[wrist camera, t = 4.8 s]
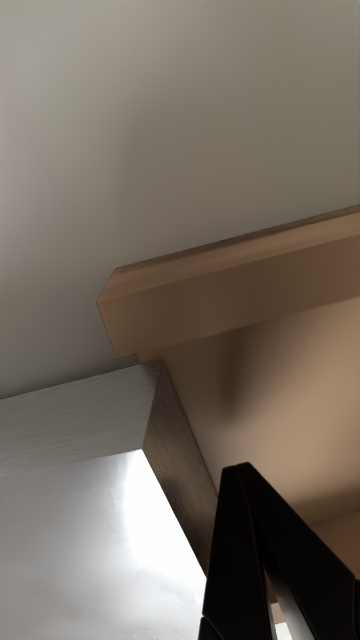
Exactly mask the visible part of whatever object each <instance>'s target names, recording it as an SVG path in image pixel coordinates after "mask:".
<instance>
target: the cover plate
mask: <svg viewBox="0 0 360 640" xmlns="http://www.w3.org/2000/svg"><path fill="white" fill-rule="evenodd" d="M217 500H218V497H217V494H216V492H215V489H214V487H213V484H212V482H211V479H210V477H209V474H208V472H207V469H206V467H205V464H204V462H203V459H202V457H201V454H200V452H199V449H198V447H197V444H196V442H195V439H194V437H193V434H192V432H191V429H190V427H189V424H188V422H187V419H186V417H185V414H184V412H183V409H182V407H181V404H180V402H179V400H178V397H177V395H176V392H175V390H174V387H173V385H172V382H171V380H170V377H169V375H168V372H167V370H166V367H165V365H164V362H163V360H162V359H159V360H155V361H151V362H147V363H143V364H139V365H135V366H131V367H127V368H123V369H119V370H115V371H111V372H107V373H103V374H99V375H96V376H92V377H88V378H84V379H80V380H76V381H72V382H68V383H64V384H60V385H56V386H52V387H48V388H44V389H40V390H36V391H32V392H28V393H24V394H20V395H16V396H12V397H8V398H4V399H0V640H198V633H199V626H200V619H201V617H203V616H202V607H203V599H204V592H205V585H206V578H207V571H208V564H209V557H210V550H211V543H212V536H213V529H214V522H215V514H216V507H217Z"/></svg>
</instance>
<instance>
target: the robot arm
mask: <svg viewBox="0 0 360 640" xmlns="http://www.w3.org/2000/svg"><path fill="white" fill-rule="evenodd" d="M264 568H265V570H264ZM265 571H266V573H267V576H268V578H269V581H270V583H271V586H272V588H273V591H274V593H275V596H276V598H277V601H278V603H279V606H280V608H281V611H282V613H283V616H284V618H285V621H286V623H287V626H288V628H289V631H290V633H291V636H292V638H293V640H360V579H356V576H355V574H354V573H353V572H352V571H351V570H350V569H349V568H348V567H347V566H346V565H345V564H344V562H343V561H342V560H341V559H340V558H339V557H338V556H337V555H336V554H335V553H334V552H333V551H332V550H331V549H330V547H329V546H328V545H327V544H326V543H325V542H324V541H323V540H322V539H321V538H320V537H319V536H318V535H317V534H316V532H315V531H314V530H313V529H312V528H311V527H310V526H309V525H308V524H307V523H306V522H305V521H304V520H303V519H302V517H301V516H300V515H299V514H298V513H297V512H296V511H295V510H294V509H293V508H292V507H291V506H290V505H289V504H288V502H287V501H286V500H285V499H284V498H283V497H282V496H281V495H280V494H279V493H278V492H277V491H276V490H275V489H274V487H273V486H272V485H271V484H270V483H269V482H268V481H267V480H266V479H265V478H264V477H263V476H262V475H261V473H260V472H259V471H258V470H257V469H256V468H255V467H254V466H253V465H252V464H251V463H250V462H248V461H247V462H243V463H239V464H236V465H231V466H227V467H224V468H223V469H222V472H221V479H220V486H219V493H218V500H217V507H216V514H215V522H214V529H213V536H212V543H211V550H210V557H209V564H208V571H207V578H206V585H205V592H204V599H203V607H202V616H203V617H201V619H200V626H199V633H198V640H277V635H276V629H275V624H274V619H273V613H272V608H271V603H270V597H269V592H268V586H267V581H266V576H265Z"/></svg>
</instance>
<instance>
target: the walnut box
mask: <svg viewBox="0 0 360 640" xmlns="http://www.w3.org/2000/svg"><path fill="white" fill-rule="evenodd" d="M96 303H97V306H98V308H99V311H100V314H101V316H102V319H103V322H104V325H105V327H106V330H107V333H108V335H109V338H110V341H111V343H112V346H113V349H114V351H115V354H116V357H117V359H119V358H123V357H127V356H131V355H134V354H138V357H139V360H140V363H141V364H143V363H147V362H151V361H155V360H159V359H162V360H163V362H164V365H165V367H166V370H167V372H168V375H169V377H170V380H171V382H172V385H173V387H174V390H175V392H176V395H177V397H178V400H179V402H180V404H181V407H182V409H183V412H184V414H185V417H186V419H187V422H188V424H189V427H190V429H191V432H192V434H193V437H194V439H195V442H196V444H197V447H198V449H199V452H200V454H201V457H202V459H203V462H204V464H205V467H206V469H207V472H208V474H209V477H210V479H211V482H212V484H213V487H214V489H215V492H216V494H217V497H218V493H219V486H220V479H221V472H222V469H223V468H224V467H227V466H231V465H236V464H239V463H243V462H247V461H248V462H250V463H251V464H252V465H253V466H254V467H255V468H256V469H257V470H258V471H259V472H260V473H261V475H262V476H263V477H264V478H265V479H266V480H267V481H268V482H269V483H270V484H271V485H272V486H273V487H274V489H275V490H276V491H277V492H278V493H279V494H280V495H281V496H282V497H283V498H284V499H285V500H286V501H287V502H288V504H289V505H290V506H291V507H292V508H293V509H294V510H295V511H296V512H297V513H298V514H299V515H300V516H301V517H302V519H303V520H304V521H305V522H306V523H307V524H308V525H309V526H310V527H311V528H312V529H313V530H314V531H315V532H316V534H317V535H318V536H319V537H320V538H321V539H322V540H323V541H324V542H325V543H326V544H327V545H328V546H329V547H330V549H331V550H332V551H333V552H334V553H335V554H336V555H337V556H338V557H339V558H340V559H341V560H342V561H343V562H344V564H345V565H346V566H347V567H348V568H349V569H350V570H351V571H352V572H353V573H354V574H355V576H356V579H360V205H357V206H353V207H349V208H345V209H341V210H338V211H334V212H330V213H326V214H322V215H318V216H315V217H311V218H307V219H303V220H299V221H295V222H292V223H288V224H284V225H280V226H276V227H272V228H269V229H265V230H261V231H257V232H253V233H249V234H246V235H242V236H238V237H234V238H230V239H226V240H223V241H219V242H215V243H211V244H207V245H203V246H200V247H196V248H192V249H188V250H184V251H181V252H177V253H173V254H169V255H165V256H161V257H158V258H154V259H150V260H146V261H142V262H138V263H135V264H131V265H127V266H123V267H119V268H116V269H115V271H114V273H113V274H112V276H111V278H110V280H109V281H108V283H107V285H106V286H105V288H104V290H103V292H102V293H101V295H100V297H99V298H98V300H97V302H96ZM264 570H265V568H264ZM265 576H266V581H267V586H268V592H269V597H270V603H271V608H272V613H273V619H274V624H278V623H282V622H286V621H285V618H284V616H283V613H282V611H281V608H280V606H279V603H278V601H277V598H276V596H275V593H274V591H273V588H272V586H271V583H270V581H269V578H268V576H267V573H266V571H265Z"/></svg>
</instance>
